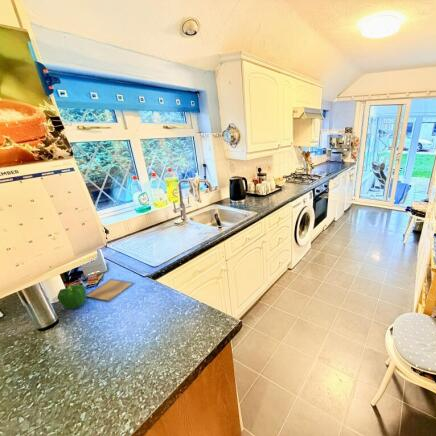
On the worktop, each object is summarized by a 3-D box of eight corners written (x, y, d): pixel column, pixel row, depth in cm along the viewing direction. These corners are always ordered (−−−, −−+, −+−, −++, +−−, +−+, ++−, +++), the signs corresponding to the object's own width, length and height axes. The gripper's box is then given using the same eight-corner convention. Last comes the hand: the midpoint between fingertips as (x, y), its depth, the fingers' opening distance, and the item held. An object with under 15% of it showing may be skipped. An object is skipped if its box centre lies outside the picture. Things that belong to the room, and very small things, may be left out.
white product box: (106, 263, 127) (98, 238, 121) (107, 271, 120) (99, 245, 115) (84, 269, 121) (75, 243, 116) (84, 277, 115) (74, 251, 109)
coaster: (86, 296, 102) (85, 296, 102) (111, 280, 113) (110, 279, 113) (108, 301, 100) (108, 300, 100) (132, 284, 111) (131, 283, 111)
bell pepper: (66, 301, 99) (58, 282, 96) (90, 296, 103) (83, 276, 99) (59, 315, 92) (50, 294, 89) (85, 308, 96) (78, 288, 92)
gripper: (42, 217, 112) (53, 256, 108) (106, 206, 129) (118, 240, 124) (46, 224, 118) (57, 262, 113) (107, 213, 134) (119, 245, 130)
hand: (89, 250), depth 119 cm, fingers open, 13 cm apart
